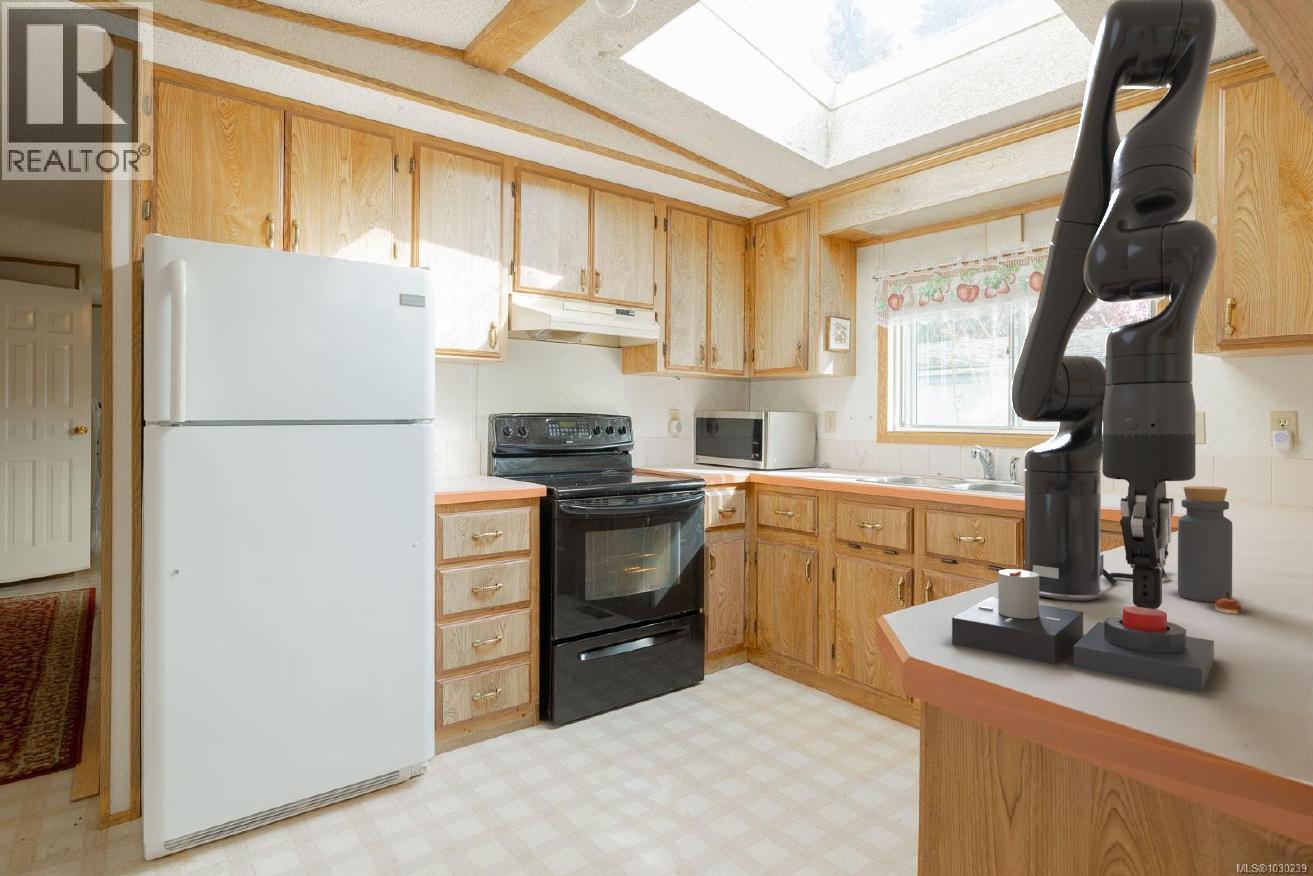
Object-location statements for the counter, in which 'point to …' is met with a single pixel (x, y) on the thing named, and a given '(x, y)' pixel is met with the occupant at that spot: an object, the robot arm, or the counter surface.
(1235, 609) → the reddish brown rounded piece
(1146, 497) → the robot arm
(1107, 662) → the power block
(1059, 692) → the counter surface
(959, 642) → the panel
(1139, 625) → the power button
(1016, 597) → the timer knob
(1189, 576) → the bottle
